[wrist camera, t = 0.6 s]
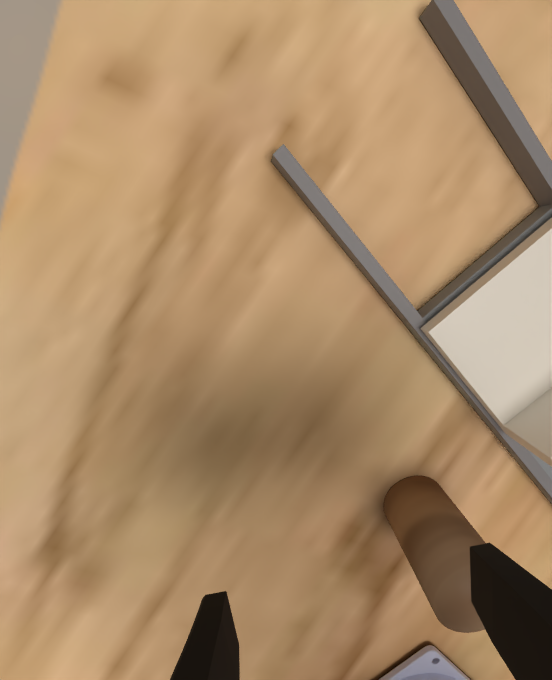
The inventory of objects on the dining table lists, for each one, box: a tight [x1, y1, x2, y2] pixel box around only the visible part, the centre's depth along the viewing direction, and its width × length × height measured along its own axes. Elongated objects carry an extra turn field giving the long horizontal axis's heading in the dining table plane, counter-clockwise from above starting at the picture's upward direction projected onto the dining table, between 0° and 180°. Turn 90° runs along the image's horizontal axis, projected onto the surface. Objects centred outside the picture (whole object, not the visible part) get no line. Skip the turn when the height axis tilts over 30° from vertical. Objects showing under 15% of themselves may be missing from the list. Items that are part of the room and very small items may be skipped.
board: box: [271, 0, 552, 504], centre depth 17 cm, size 27×9×2 cm, turn 42°
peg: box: [384, 476, 486, 633], centre depth 18 cm, size 4×4×6 cm
